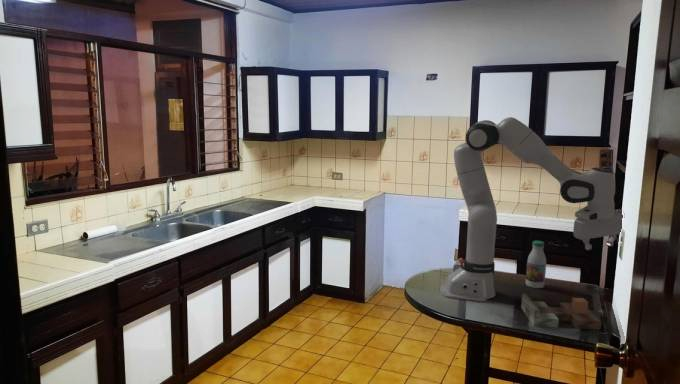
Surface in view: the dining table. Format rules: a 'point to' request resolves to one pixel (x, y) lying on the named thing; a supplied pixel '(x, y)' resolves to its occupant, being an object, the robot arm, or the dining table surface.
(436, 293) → the dining table surface
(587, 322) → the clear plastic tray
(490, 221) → the robot arm
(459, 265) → the charger
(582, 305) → the terracotta cube
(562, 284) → the dining table surface
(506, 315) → the dining table surface
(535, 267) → the milk bottle
